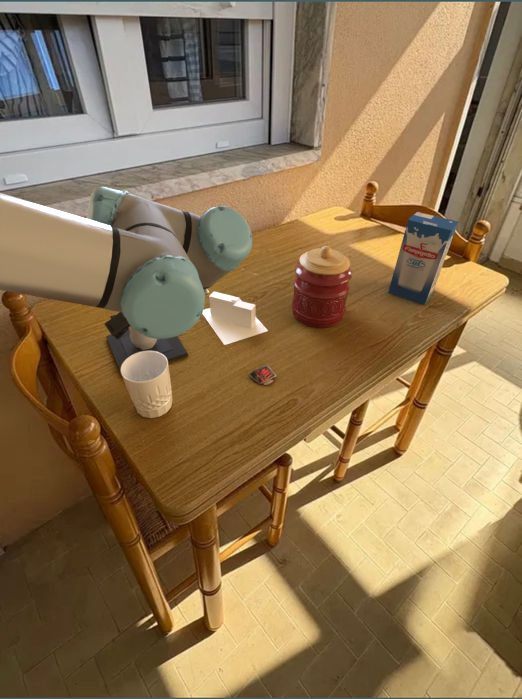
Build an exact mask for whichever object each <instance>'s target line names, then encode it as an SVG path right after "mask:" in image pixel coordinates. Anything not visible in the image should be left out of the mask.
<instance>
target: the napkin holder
mask: <svg viewBox="0 0 522 699" xmlns="http://www.w3.org/2000/svg"><path fill="white" fill-rule="evenodd" d="M208 300H209V307H208V308H204V310H203V313H202V316H203V317H204V318H205V320H206V321H207V322H208V324H209V326H210V327H211V328H212V329H213V331H214V332H215V334H216V335H217V337H218V338H219V340H220V341H221V342H222V344H223V345H224V346H226V345H229V344H233V343H235V342H239V341H242V340H245V339H248V338H252V337H254V336H258V335H260V334H264V333H267V332H269V330H268V329H267V328H266V327H265V325H264V324H263V323H262V322H261V320H260V319H259V318H258V317H257V315H256V314H257V312H256V311H257V310H256V309H257V308H256V306H257V305H256V304H254V303H250V302H246V301H243V300H242V299H241V298H240V297H239V296H234V295H230V294H226V293H223V292H218V291H212V292H211V294H209V295H208Z"/></svg>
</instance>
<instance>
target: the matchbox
mask: <svg viewBox="0 0 522 699" xmlns="http://www.w3.org/2000/svg"><path fill="white" fill-rule="evenodd" d="M249 376H250V377H251V380H253V381H255V382H256V383H258V384H259V385H260V384H263V385H265V386H267V385H268V386H269V385H271V384H272V383H273V382H274V379H273V378H275V377H277V374H276V373H275V372H274V371H273V368H271V366H269V365H267V364H266V365H265V364H264V365H263V366H261V367H259V368H257V369H254V370H253V371H252V372H251V373H250V374H249Z"/></svg>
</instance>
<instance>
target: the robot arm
mask: <svg viewBox="0 0 522 699" xmlns="http://www.w3.org/2000/svg"><path fill="white" fill-rule="evenodd" d="M253 240H254V239H253V234H252V230H251V227H250V225H249V223H248V221H247V220H246V218H245V217H244V216H243V215H242V214H241V213H240V212H238V211H237V210H236V209H234V208H232V207H229V206H226V205H220V206H219V205H217V206H213V207H211V208H208V209H207V211H204V212H203V213H202V214H201V215H199V214H196V213H192V212H190V211H184V210H181V209H177V208H174V207H171V206H168V205H165V204H163V203H159V202H156V201H153V200H151V199H147V198H145V197H141V196H137V195H135V194H132V193H130V191H127V190H124V191H122V190H118V189H116V188H115V189H114V188H111V187H106V186H98V187H96V188H94V190H93V191H92V192H91V195H90V198H89V201H88V206H87V210H86V217H82V216H79V215H76V214H74V213H73V214H72V213H69V212H65V211H63V210H59V209H56V208H53V207H49V206H45V205H42V204H39V203H35V202H32V201H29V200H26V199H23V198H19V197H16V196H12V195H9V194H6V193H2V192H0V291H4V292H7V293H13V294H14V293H15V294H20V295H27V296H32V297H36V298H42V299H49V300H53V301H54V300H55V301H59V302H65V303H69V304H75V305H76V304H77V305H82V306H86V307H92V308H99V309H103V310H107V311H113V312H117V313H116V314H112V315H110V316H109V317H110V319H109V320H107V321H105V323H104V324H103V325H104V327H105V328H106V329H107V330H108V332H109V334H110V335H112V336H115V338H116V339H119V338H120V337H121V336H122V335H123V334H124V333H125V332H126V331H127V330H129V329H130V326H131V327H133V328H134V329H135V330H136V331H138V332H139V333H141V334H143V335H144V336H146V337H150V338H154V339H167V338H172V337H176V336H177V337H179V336H181V335H183V334H184V333H187V332H189V330H192V328H193V327H194V326H195V325H196V324H197V323H198V322H199V320H200V318H201V316H203V314H202V313H203V310H205V306H206V296H209V295H210V290H209V289H210V288H211V287H212V286H214V285H215V284H216V283H218V282H219V281H220V280H221V279H223V278H224V277H225V276H227V275H228V274H229V273H230V272H233V271H235V270H236V269H237V268H238V267H239V265H241V263H242V262H243V261H245V259H247V258H248V256H249V254H250V253H251V251H252V247H253V243H254V242H253Z"/></svg>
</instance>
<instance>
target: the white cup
mask: <svg viewBox="0 0 522 699" xmlns="http://www.w3.org/2000/svg"><path fill="white" fill-rule="evenodd" d="M120 375H121V377H122V380H123V382H124V385H125V387H126V390H127V392H128V395H129V397H130V399H131V402H132V403H133V405H134V407H135V409H136V410H135V411H136V412H137V414H139V415H140V416H141V417H142V418H148V419H155V418H159V417H161V416H164V415H166V414H167V413H168V412H169V411H170V409H171V408H172V405H173V393H172V392H173V391H172V390H173V389H172V380H171V374H170V366H169V362H168V360H167V358H166V357H165V356H164V355H163V354H161V353H159V352H156V351H142V352H138V353H135V354H133V355H131V356H130V357H128V358H127V359H126V360H125V361H124V362H123V364H122V365H121V373H120Z"/></svg>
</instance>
